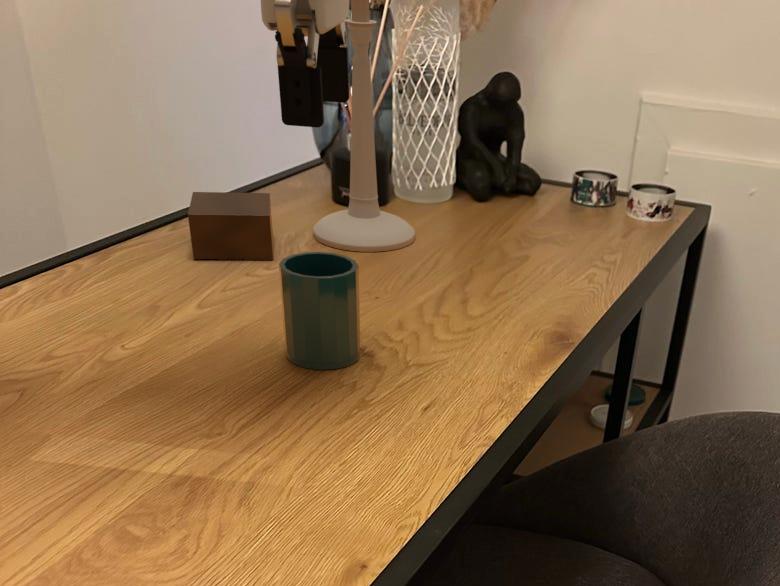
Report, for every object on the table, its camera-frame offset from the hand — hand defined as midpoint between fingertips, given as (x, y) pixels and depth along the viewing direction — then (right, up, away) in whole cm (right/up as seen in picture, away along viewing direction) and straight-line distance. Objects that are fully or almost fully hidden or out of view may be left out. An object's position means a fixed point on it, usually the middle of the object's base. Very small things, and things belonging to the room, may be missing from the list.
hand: (317, 112), depth 76 cm
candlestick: (-1, +8, +42) cm, 43 cm away
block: (-16, +4, +36) cm, 39 cm away
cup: (-2, -16, +14) cm, 21 cm away
